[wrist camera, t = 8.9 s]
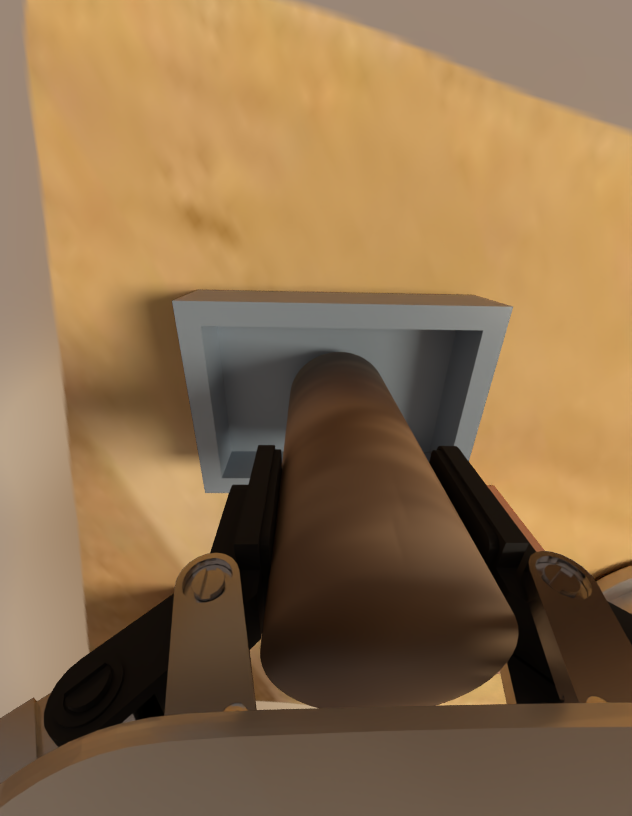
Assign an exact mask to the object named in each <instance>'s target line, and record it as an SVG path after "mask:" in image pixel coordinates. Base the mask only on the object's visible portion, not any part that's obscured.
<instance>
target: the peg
mask: <svg viewBox="0 0 632 816" xmlns="http://www.w3.org/2000/svg"><path fill="white" fill-rule="evenodd" d="M517 640H518V624H517V621H516V618H515V615H514V613H513V612H512V610H511V608H510V606H509V604H508V603H507V601H506V599H505V597H504V596H503V594H502V592H501V590H500V588H499V587H498V585H497V583H496V581H495V579H494V578H493V576H492V574H491V572H490V570H489V569H488V567H487V565H486V563H485V562H484V560H483V558H482V556H481V554H480V553H479V551H478V549H477V547H476V545H475V544H474V542H473V540H472V538H471V537H470V535H469V533H468V531H467V529H466V528H465V526H464V524H463V522H462V520H461V519H460V517H459V515H458V513H457V511H456V510H455V508H454V506H453V504H452V503H451V501H450V499H449V497H448V495H447V494H446V492H445V490H444V488H443V486H442V485H441V483H440V481H439V479H438V478H437V476H436V474H435V472H434V470H433V469H432V467H431V465H430V463H429V461H428V460H427V458H426V456H425V454H424V452H423V451H422V449H421V447H420V445H419V444H418V442H417V440H416V438H415V436H414V435H413V433H412V431H411V429H410V427H409V426H408V424H407V422H406V420H405V419H404V417H403V415H402V413H401V411H400V410H399V408H398V406H397V404H396V402H395V401H394V399H393V397H392V395H391V393H390V392H389V390H388V388H387V386H386V385H385V383H384V381H383V379H382V377H381V376H380V374H379V372H378V371H377V369H376V368H375V367H374V366H373V365H372V364H371V363H370V362H369V361H367V360H366V359H364V358H362V357H360V356H358V355H355V354H352V353H347V352H332V353H327V354H323V355H320V356H318V357H316V358H314V359H312V360H311V361H309V362H308V363H307V364H306V365H304V366H303V367H302V368H301V370H300V371H299V372H298V374H297V375H296V377H295V379H294V381H293V383H292V386H291V391H290V400H289V408H288V417H287V425H286V434H285V442H284V451H283V460H282V473H281V482H280V491H279V500H278V508H277V517H276V526H275V535H274V544H273V552H272V561H271V570H270V575H269V580H268V588H267V597H266V605H265V614H264V622H263V631H262V640H261V648H260V658H261V663H262V667H263V669H264V671H265V673H266V675H267V676H268V678H269V679H270V680H271V682H272V683H273V684H274V685H275V686H276V687H277V688H278V689H280V690H281V691H282V692H284V693H285V694H287V695H288V696H290V697H292V698H294V699H296V700H297V701H300V702H302V703H305V704H307V705H310V706H313V707H317V708H356V707H399V706H435V705H439V704H442V703H445V702H448V701H450V700H453V699H456V698H458V697H460V696H462V695H464V694H467V693H469V692H471V691H472V690H474V689H476V688H478V687H479V686H481V685H482V684H484V683H485V682H487V681H488V680H490V679H491V678H492V677H493V676H494V675H496V674H497V673H498V672H499V671H500V670H501V669H502V668H503V667H504V665H505V664H506V663H507V662H508V660H509V659H510V657H511V656H512V654H513V652H514V650H515V647H516V645H517Z"/></svg>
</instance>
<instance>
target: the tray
mask: <svg viewBox="0 0 632 816" xmlns="http://www.w3.org/2000/svg"><path fill="white" fill-rule="evenodd" d="M172 304H173V309H174V315H175V321H176V327H177V333H178V338H179V344H180V350H181V356H182V361H183V367H184V373H185V379H186V385H187V390H188V396H189V402H190V408H191V413H192V419H193V425H194V431H195V437H196V442H197V448H198V454H199V460H200V465H201V471H202V477H203V483H204V489H205V493H229V492H230V489H231V486H232V485H248V484H249V480H250V476H251V472H252V468H253V464H254V460H255V456H256V452H257V448H258V445H275V449H281V454H282V460H283V451H284V442H285V434H286V425H287V417H288V408H289V400H290V391H291V386H292V383H293V381H294V379H295V377H296V375H297V374H298V372H299V371H300V370H301V368H302V367H303V366H304V365H306V364H307V363H308V362H309V361H311V360H312V359H314V358H316V357H318V356H320V355H323V354H327V353H332V352H347V353H352V354H355V355H358V356H360V357H362V358H364V359H366V360H367V361H369V362H370V363H371V364H372V365H373V366H374V367H375V368H376V369H377V371H378V372H379V374H380V376H381V377H382V379H383V381H384V383H385V385H386V386H387V388H388V390H389V392H390V393H391V395H392V397H393V399H394V401H395V402H396V404H397V406H398V408H399V410H400V411H401V413H402V415H403V417H404V419H405V420H406V422H407V424H408V426H409V427H410V429H411V431H412V433H413V435H414V436H415V438H416V440H417V442H418V444H419V445H420V447H421V449H422V451H423V452H424V454H425V456H426V458H427V460H428V461H430V457H431V453H432V451H433V450H437V448H438V446H457V447H458V448H459V449H460V450H461V452H462V453H463V454H464V456H465V457H466V459H467V460H468V461H469V459H470V455H471V452H472V448H473V445H474V441H475V438H476V434H477V431H478V427H479V424H480V420H481V417H482V413H483V410H484V406H485V403H486V399H487V396H488V392H489V389H490V385H491V382H492V379H493V375H494V372H495V368H496V365H497V361H498V358H499V354H500V351H501V347H502V344H503V340H504V337H505V333H506V330H507V326H508V323H509V319H510V316H511V312H512V309H513V307H512V306H509V305H506V304H502V303H499V302H496V301H492V300H489V299H486V298H482V297H479V296H476V295H447V294H394V293H342V292H289V291H237V290H196V291H194V292H192V293H189V294H187V295H184V296H182V297H180V298H177V299H175V300H172Z"/></svg>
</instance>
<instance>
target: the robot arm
mask: <svg viewBox="0 0 632 816" xmlns="http://www.w3.org/2000/svg"><path fill="white" fill-rule="evenodd" d="M429 463H430V465H431V467H432V469H433V470H434V472H435V474H436V476H437V478H438V479H439V481H440V483H441V485H442V486H443V488H444V490H445V492H446V494H447V495H448V497H449V499H450V501H451V503H452V504H453V506H454V508H455V510H456V511H457V513H458V515H459V517H460V519H461V520H462V522H463V524H464V526H465V528H466V529H467V531H468V533H469V535H470V537H471V538H472V540H473V542H474V544H475V545H476V547H477V549H478V551H479V553H480V554H481V556H482V558H483V560H484V562H485V563H486V565H487V567H488V569H489V570H490V572H491V574H492V576H493V578H494V579H495V581H496V583H497V585H498V587H499V588H500V590H501V592H502V594H503V596H504V597H505V599H506V601H507V603H508V604H509V606H510V608H511V610H512V612H513V613H514V615H515V618H516V621H517V624H518V640H517V645H516V647H515V650H514V652H513V654H512V656H511V657H510V659H509V660H508V662H507V663H506V664H505V665H504V667H503V668H502V669H501V670H500V674H501V679H502V684H503V688H504V693H505V698H506V703H507V704H496V705H446V706H399V707H356V708H318V709H281V710H257V709H256V701H255V692H254V684H253V675H252V667H251V658H250V649H251V648H252V647H253V646H254V645H255V644H256V643H257V642H258V641H259V640H260V639H261V635H262V631H263V622H264V614H265V605H266V597H267V588H268V580H269V575H270V570H271V561H272V552H273V544H274V535H275V526H276V517H277V508H278V500H279V491H280V482H281V473H282V454H281V449H275V445H258V448H257V452H256V456H255V460H254V464H253V468H252V472H251V476H250V480H249V484H248V485H232V486H231V489H230V492H229V495H228V498H227V501H226V505H225V508H224V511H223V514H222V517H221V520H220V524H219V527H218V530H217V533H216V536H215V539H214V543H213V546H212V549H211V552H210V553H209V554H205V555H202V556H200V557H197V558H196V559H194V560H193V561H191V562H189V563H188V564H187V565H186V566H185V567H184V568H183V569H182V571H181V572H180V574H179V576H178V577H177V580H176V584H175V588H174V594H173V595H171V596H170V597H168V598H167V599H166V600H164V601H163V602H161V603H160V604H158V605H157V606H156V607H154V608H153V609H151V610H150V611H149V612H147V613H146V614H144V615H143V616H141V617H140V618H139V619H137V620H136V621H134V622H133V623H132V624H130V625H129V626H127V627H126V628H124V629H123V630H122V631H120V632H119V633H117V634H116V635H114V636H113V637H112V638H110V639H109V640H107V641H106V642H105V643H103V644H102V645H100V646H99V647H97V648H96V649H95V650H93V651H92V652H90V653H89V654H88V655H86V656H85V657H83V658H82V659H80V660H79V661H78V662H77V663H76V664H74V665H73V666H72V667H71V668H70V669H69V670H68V671H67V672H66V673H65V674H64V675H63V676H62V678H61V679H60V680H59V681H58V682H57V684H56V686H55V687H54V689H53V691H52V692H51V693H50V694H48V695H47V696H45V697H43V698H42V699H40V700H39V701H36V700H35V699H34V698H32V699H30V700H29V701H27V702H26V703H24V704H22V705H21V706H19V707H18V708H16V709H14V710H13V711H11V712H10V713H8V714H6V715H5V716H3V717H2V718H0V816H632V565H631V566H628V567H625V568H622V569H619V570H617V571H615V572H613V573H611V574H608V575H606V576H604V577H602V578H601V579H599V580H597V581H595V580H594V578H593V577H592V575H591V574H590V573H588V572H587V571H586V570H585V569H584V568H583V567H582V566H580V565H579V564H578V563H576V562H575V561H573V560H571V559H569V558H567V557H565V556H563V555H561V554H557V553H554V552H549V551H539V552H536V551H535V549H534V548H533V547H532V545H531V544H530V543H529V541H528V540H527V538H526V537H525V536H524V534H523V533H522V532H521V530H520V529H519V528H518V526H517V525H516V524H515V522H514V521H513V520H512V518H511V517H510V516H509V514H508V513H507V512H506V510H505V509H504V508H503V506H502V505H501V504H500V502H499V501H498V500H497V498H496V497H495V496H494V494H493V493H492V492H491V490H490V489H489V488H488V487H487V485H486V484H485V483H484V481H483V480H482V479H481V477H480V476H479V475H478V473H477V472H476V471H475V469H474V468H473V467H472V465H471V464H470V463H469V461H468V460H467V459H466V457H465V456H464V454H463V453H462V452H461V450H460V449H459V448H458V447H457V446H438V448H437V450H433V451H432V453H431V457H430V461H429Z"/></svg>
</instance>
